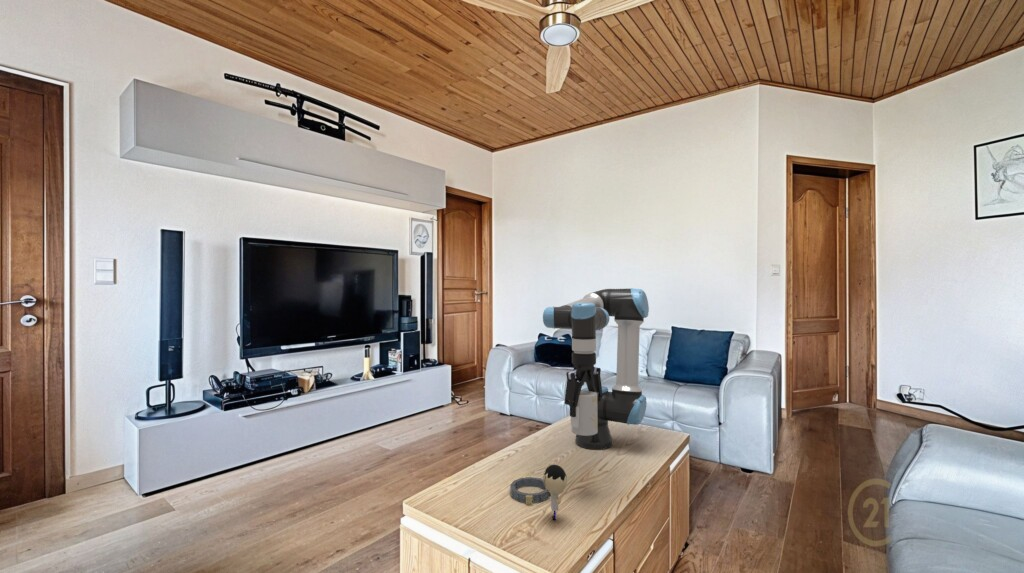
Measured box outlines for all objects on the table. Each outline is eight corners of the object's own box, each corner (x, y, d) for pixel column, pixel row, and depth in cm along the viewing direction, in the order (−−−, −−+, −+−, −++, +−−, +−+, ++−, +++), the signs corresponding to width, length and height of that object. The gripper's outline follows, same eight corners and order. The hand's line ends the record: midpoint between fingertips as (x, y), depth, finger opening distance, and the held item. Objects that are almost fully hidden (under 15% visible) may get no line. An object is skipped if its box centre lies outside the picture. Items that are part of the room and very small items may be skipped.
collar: (531, 481, 146) (531, 474, 146) (558, 494, 136) (558, 486, 136) (502, 492, 138) (502, 484, 138) (528, 507, 128) (528, 499, 128)
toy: (541, 512, 126) (541, 460, 126) (563, 510, 126) (563, 459, 126) (546, 528, 117) (545, 472, 117) (570, 527, 118) (569, 471, 118)
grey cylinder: (597, 436, 132) (597, 396, 132) (570, 434, 134) (570, 395, 134) (597, 427, 140) (597, 390, 140) (572, 426, 142) (572, 389, 142)
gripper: (595, 347, 147) (596, 414, 147) (551, 353, 133) (552, 428, 133) (614, 349, 141) (614, 419, 141) (569, 356, 127) (570, 434, 127)
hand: (584, 423), depth 137 cm, fingers closed on grey cylinder, 8 cm apart
